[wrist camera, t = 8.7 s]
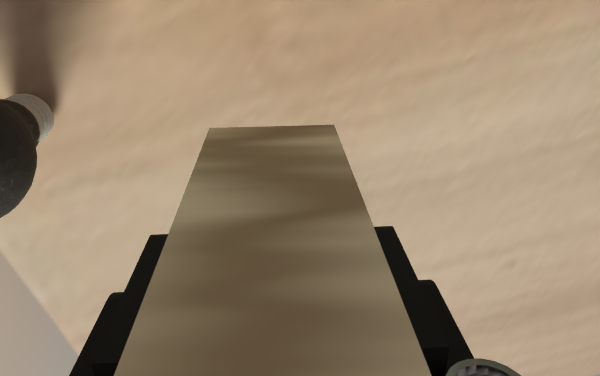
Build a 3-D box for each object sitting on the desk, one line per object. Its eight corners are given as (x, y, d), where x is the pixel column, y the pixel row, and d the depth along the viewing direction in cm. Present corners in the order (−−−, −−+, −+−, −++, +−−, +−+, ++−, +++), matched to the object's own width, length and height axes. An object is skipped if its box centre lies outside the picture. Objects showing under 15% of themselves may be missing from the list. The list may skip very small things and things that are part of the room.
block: (333, 124, 16) (477, 492, 5) (331, 232, 17) (433, 685, 6) (209, 128, 15) (58, 517, 5) (219, 236, 17) (126, 710, 6)
